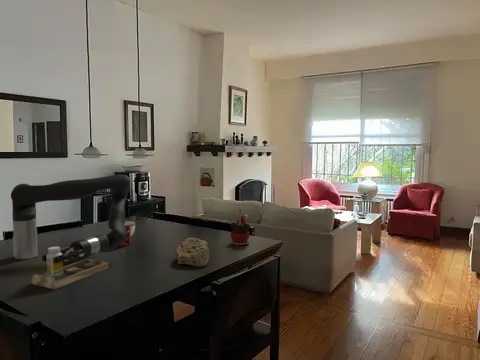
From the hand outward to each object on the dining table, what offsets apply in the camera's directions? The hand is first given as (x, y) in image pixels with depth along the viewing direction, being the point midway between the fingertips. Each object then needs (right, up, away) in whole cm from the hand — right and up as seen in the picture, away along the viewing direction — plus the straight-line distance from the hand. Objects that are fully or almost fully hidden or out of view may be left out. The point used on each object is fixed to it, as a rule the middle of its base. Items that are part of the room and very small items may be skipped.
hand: (48, 259), depth 137 cm
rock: (+48, -7, +31) cm, 58 cm away
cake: (+69, -4, +59) cm, 91 cm away
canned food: (+10, -4, +56) cm, 57 cm away
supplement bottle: (+1, -6, +3) cm, 7 cm away
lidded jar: (+6, -3, +73) cm, 74 cm away
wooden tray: (+4, -8, +10) cm, 14 cm away
